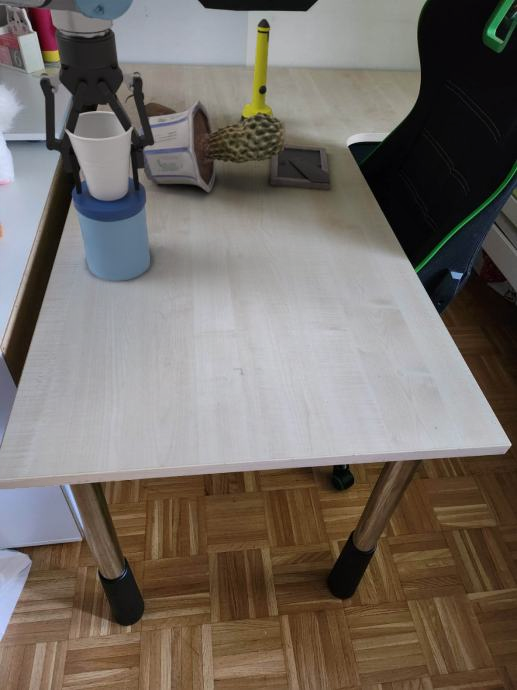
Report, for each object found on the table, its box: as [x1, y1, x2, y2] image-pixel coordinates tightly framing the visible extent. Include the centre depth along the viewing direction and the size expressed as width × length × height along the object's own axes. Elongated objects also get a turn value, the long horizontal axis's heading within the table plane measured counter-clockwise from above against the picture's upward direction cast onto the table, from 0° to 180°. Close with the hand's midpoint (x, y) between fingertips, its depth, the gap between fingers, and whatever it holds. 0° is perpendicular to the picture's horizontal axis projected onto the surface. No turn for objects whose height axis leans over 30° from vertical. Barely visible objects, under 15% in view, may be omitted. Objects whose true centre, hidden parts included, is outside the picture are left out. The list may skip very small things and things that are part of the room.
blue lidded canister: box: [71, 176, 151, 282], centre depth 89 cm, size 12×12×14 cm
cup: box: [63, 110, 135, 201], centre depth 80 cm, size 10×10×11 cm
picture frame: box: [270, 144, 331, 191], centre depth 123 cm, size 13×2×18 cm
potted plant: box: [138, 100, 286, 193], centre depth 109 cm, size 18×18×30 cm
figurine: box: [125, 91, 178, 117], centre depth 131 cm, size 14×4×9 cm, turn 95°
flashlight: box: [240, 18, 274, 122], centre depth 130 cm, size 25×9×9 cm
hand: (108, 187), depth 83 cm, fingers closed on cup, 8 cm apart
